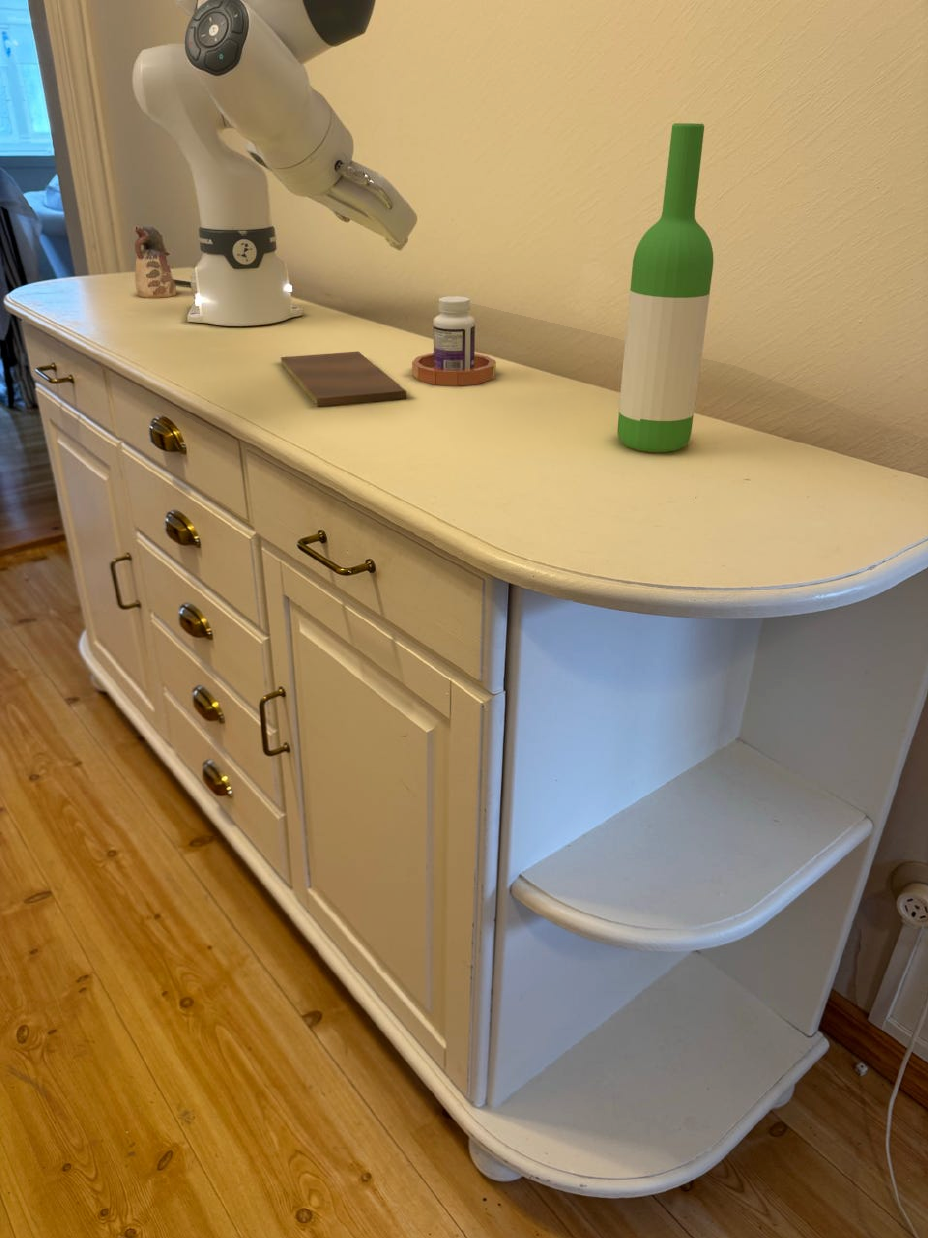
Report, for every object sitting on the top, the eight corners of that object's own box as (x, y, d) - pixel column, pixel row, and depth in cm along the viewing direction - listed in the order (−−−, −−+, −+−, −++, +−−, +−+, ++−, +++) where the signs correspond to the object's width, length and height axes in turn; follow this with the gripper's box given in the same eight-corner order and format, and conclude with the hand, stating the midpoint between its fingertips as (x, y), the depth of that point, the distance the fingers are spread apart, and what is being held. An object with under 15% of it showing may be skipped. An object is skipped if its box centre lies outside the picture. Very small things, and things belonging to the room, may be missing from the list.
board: (281, 364, 127) (280, 356, 127) (358, 358, 131) (358, 351, 130) (317, 406, 109) (316, 398, 109) (406, 398, 113) (406, 390, 112)
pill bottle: (454, 367, 126) (454, 293, 122) (482, 375, 123) (484, 298, 118) (425, 374, 123) (424, 298, 118) (453, 382, 120) (453, 303, 115)
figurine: (184, 294, 173) (175, 225, 168) (150, 299, 169) (139, 228, 163) (164, 289, 178) (154, 222, 172) (130, 294, 173) (119, 225, 167)
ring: (402, 368, 126) (402, 355, 125) (476, 362, 129) (477, 349, 128) (428, 388, 117) (428, 374, 116) (507, 381, 120) (507, 367, 119)
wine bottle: (684, 459, 94) (727, 124, 79) (608, 449, 96) (637, 122, 82) (694, 437, 100) (736, 123, 86) (623, 429, 103) (653, 122, 88)
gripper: (393, 155, 92) (450, 238, 104) (268, 97, 101) (334, 179, 114) (357, 207, 92) (418, 284, 105) (235, 145, 102) (304, 222, 114)
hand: (373, 229), depth 109 cm, fingers open, 8 cm apart
